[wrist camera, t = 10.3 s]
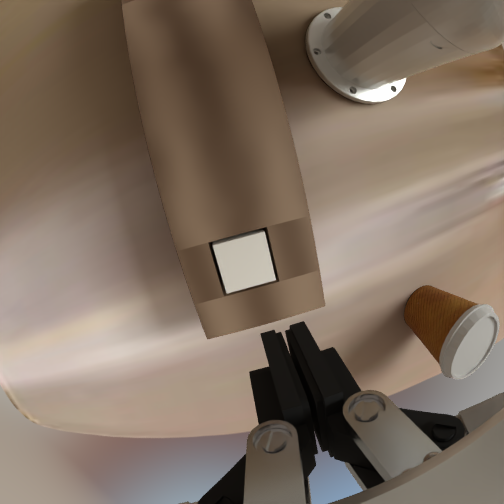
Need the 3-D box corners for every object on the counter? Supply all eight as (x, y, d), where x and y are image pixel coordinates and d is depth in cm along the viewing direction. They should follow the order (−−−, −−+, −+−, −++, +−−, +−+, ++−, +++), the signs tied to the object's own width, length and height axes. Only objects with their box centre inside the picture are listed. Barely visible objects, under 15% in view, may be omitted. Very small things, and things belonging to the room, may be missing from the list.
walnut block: (221, -39, 20) (224, -69, 14) (306, 282, 31) (325, 305, 26) (129, -17, 19) (117, -44, 14) (207, 309, 31) (207, 339, 25)
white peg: (255, 220, 28) (264, 231, 23) (264, 260, 29) (275, 279, 24) (212, 231, 28) (212, 245, 23) (224, 271, 29) (226, 293, 24)
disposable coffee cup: (384, 335, 35) (434, 387, 24) (409, 268, 33) (474, 306, 21) (429, 337, 37) (477, 379, 25) (452, 278, 35) (510, 311, 23)
